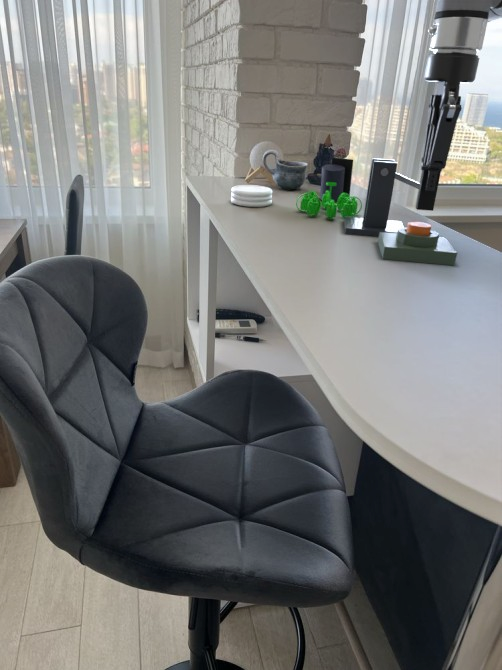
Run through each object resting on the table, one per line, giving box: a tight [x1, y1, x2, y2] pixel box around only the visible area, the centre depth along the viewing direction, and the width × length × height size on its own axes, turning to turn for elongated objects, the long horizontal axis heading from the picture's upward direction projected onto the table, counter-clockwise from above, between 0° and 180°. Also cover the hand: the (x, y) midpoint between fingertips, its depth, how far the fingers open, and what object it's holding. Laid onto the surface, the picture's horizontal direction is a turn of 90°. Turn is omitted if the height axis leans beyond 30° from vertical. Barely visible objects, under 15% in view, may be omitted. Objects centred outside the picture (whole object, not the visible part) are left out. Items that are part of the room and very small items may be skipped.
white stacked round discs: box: [230, 184, 273, 208], centre depth 122 cm, size 10×10×4 cm
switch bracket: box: [343, 157, 405, 238], centre depth 102 cm, size 12×10×14 cm
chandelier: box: [295, 182, 363, 221], centre depth 115 cm, size 15×15×7 cm
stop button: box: [406, 221, 432, 236], centre depth 89 cm, size 4×4×2 cm
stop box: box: [377, 226, 458, 266], centre depth 90 cm, size 12×10×4 cm
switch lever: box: [395, 172, 420, 190], centre depth 100 cm, size 12×5×2 cm, turn 82°
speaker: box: [319, 157, 354, 203], centre depth 129 cm, size 8×6×10 cm
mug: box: [261, 149, 309, 190], centre depth 140 cm, size 10×12×10 cm
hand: (424, 209), depth 87 cm, fingers closed
